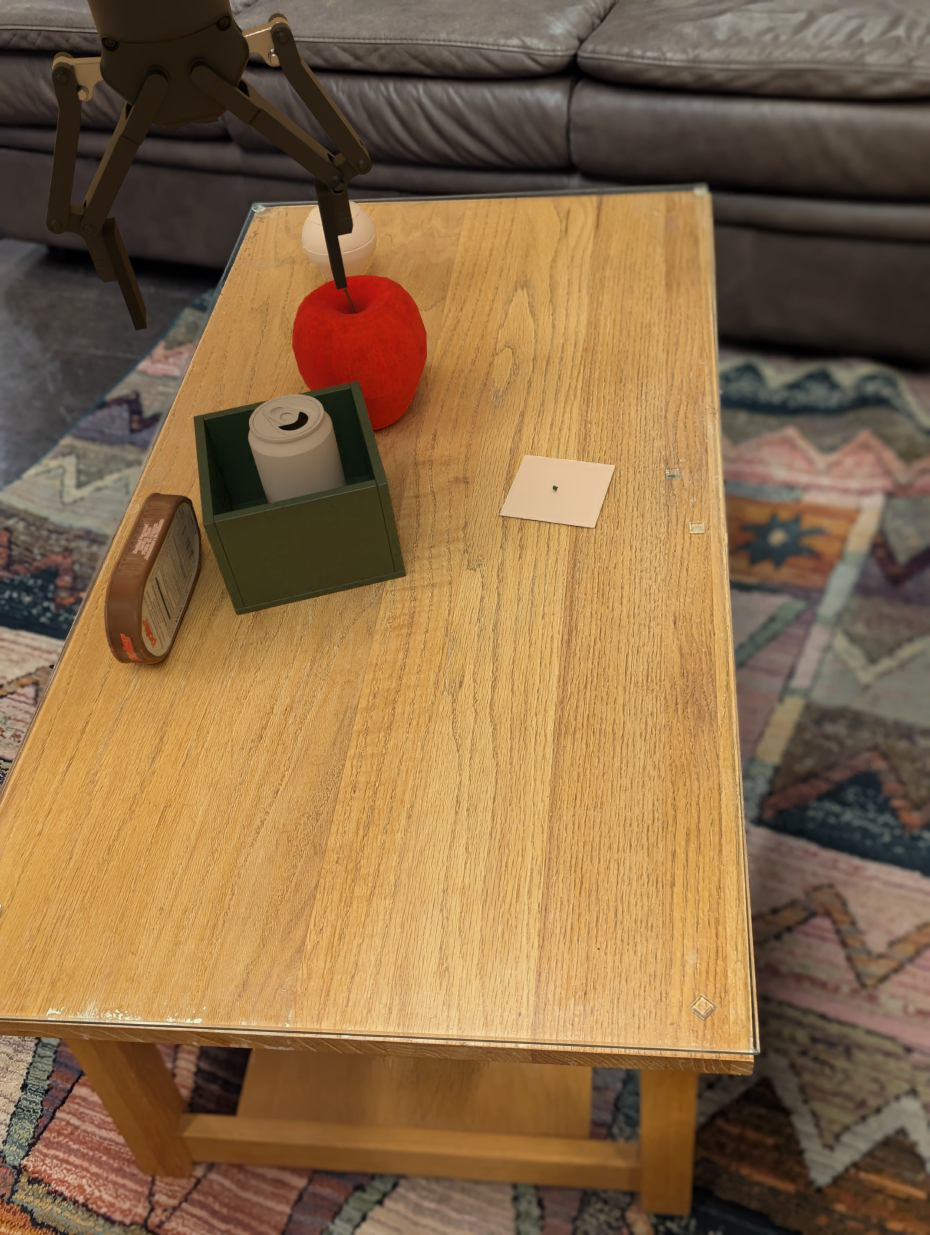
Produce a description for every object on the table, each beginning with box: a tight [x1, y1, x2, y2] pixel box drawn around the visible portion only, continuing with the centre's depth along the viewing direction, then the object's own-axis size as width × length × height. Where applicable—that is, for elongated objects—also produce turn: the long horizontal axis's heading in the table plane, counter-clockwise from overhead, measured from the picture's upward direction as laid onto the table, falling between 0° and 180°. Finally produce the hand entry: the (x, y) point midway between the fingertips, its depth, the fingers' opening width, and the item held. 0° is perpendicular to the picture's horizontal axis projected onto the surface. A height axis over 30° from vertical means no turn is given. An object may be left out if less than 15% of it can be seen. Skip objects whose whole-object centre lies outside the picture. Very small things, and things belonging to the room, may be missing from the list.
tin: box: [103, 491, 203, 665], centre depth 82 cm, size 15×3×8 cm, turn 174°
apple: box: [291, 274, 428, 431], centre depth 95 cm, size 12×12×13 cm
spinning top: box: [300, 200, 378, 282], centre depth 110 cm, size 8×8×12 cm
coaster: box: [498, 454, 616, 529], centre depth 90 cm, size 8×8×1 cm
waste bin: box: [193, 381, 407, 616], centre depth 86 cm, size 14×14×10 cm
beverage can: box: [248, 393, 347, 503], centre depth 85 cm, size 6×6×12 cm
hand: (241, 299), depth 73 cm, fingers open, 13 cm apart
